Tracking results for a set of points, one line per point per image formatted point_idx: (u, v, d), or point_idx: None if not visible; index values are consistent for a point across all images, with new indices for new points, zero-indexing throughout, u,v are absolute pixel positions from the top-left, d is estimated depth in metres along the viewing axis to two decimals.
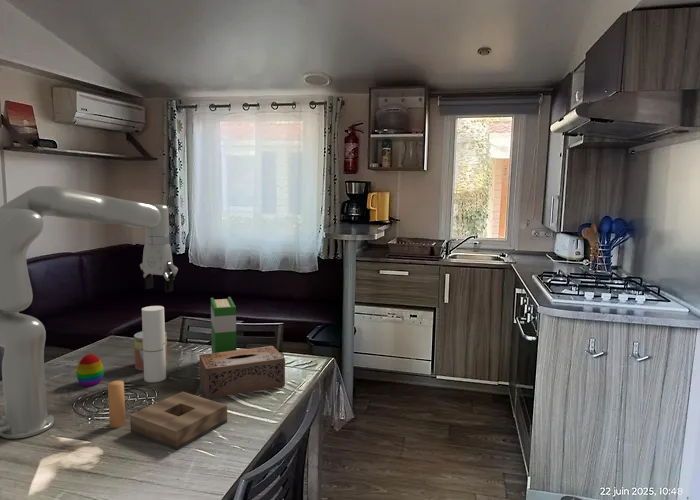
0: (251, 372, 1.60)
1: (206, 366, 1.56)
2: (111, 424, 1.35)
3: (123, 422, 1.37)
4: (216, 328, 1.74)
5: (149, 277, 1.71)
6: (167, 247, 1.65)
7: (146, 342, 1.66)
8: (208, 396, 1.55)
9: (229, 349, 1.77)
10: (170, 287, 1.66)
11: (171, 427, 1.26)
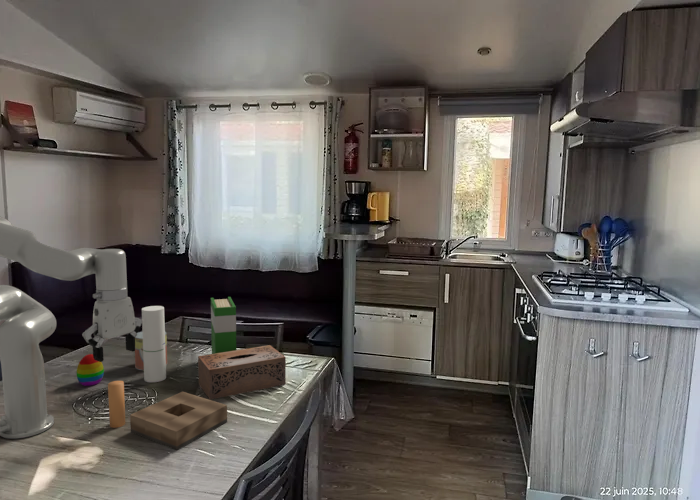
0: (253, 371, 1.61)
1: (208, 367, 1.55)
2: (111, 424, 1.35)
3: (123, 422, 1.37)
4: (216, 328, 1.74)
5: None
6: None
7: (146, 342, 1.66)
8: (211, 397, 1.54)
9: (229, 349, 1.77)
10: None
11: (171, 427, 1.26)
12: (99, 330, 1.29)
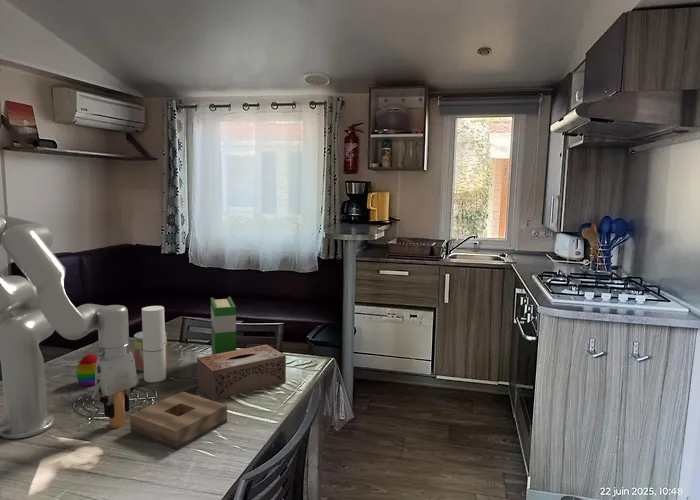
0: (255, 371, 1.61)
1: (211, 368, 1.54)
2: (111, 424, 1.35)
3: (123, 422, 1.37)
4: (216, 328, 1.74)
5: None
6: None
7: (146, 342, 1.66)
8: (214, 398, 1.54)
9: (229, 349, 1.77)
10: None
11: (171, 427, 1.26)
12: (101, 387, 1.31)
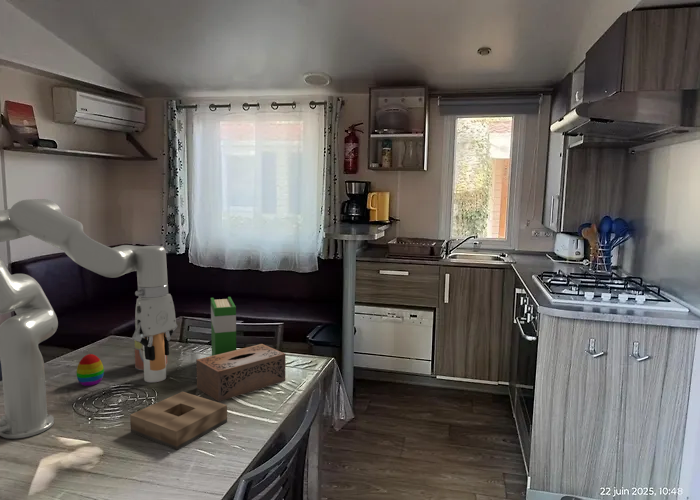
0: (257, 370, 1.62)
1: (215, 369, 1.54)
2: (152, 367, 1.33)
3: (164, 365, 1.34)
4: (216, 328, 1.74)
5: None
6: None
7: None
8: (219, 399, 1.53)
9: (229, 349, 1.77)
10: None
11: (171, 427, 1.26)
12: (142, 327, 1.28)
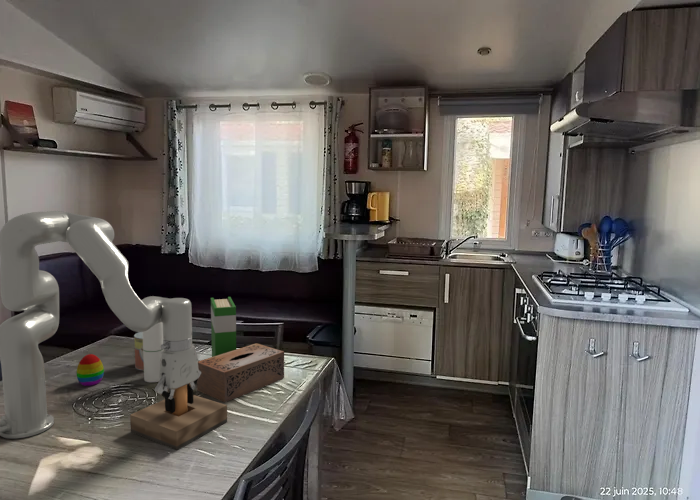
0: (259, 369, 1.63)
1: (221, 370, 1.53)
2: None
3: None
4: (216, 328, 1.74)
5: None
6: None
7: (146, 342, 1.66)
8: (226, 400, 1.53)
9: (229, 349, 1.77)
10: None
11: (171, 427, 1.26)
12: (167, 381, 1.29)
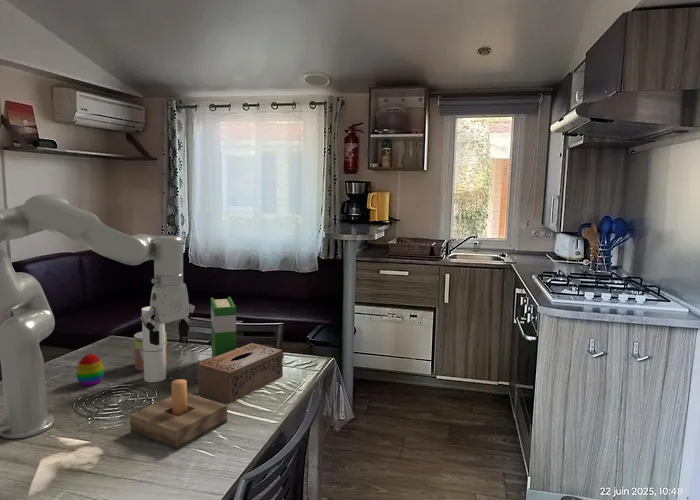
0: (261, 368, 1.64)
1: (225, 370, 1.53)
2: None
3: None
4: (216, 328, 1.74)
5: None
6: None
7: (146, 342, 1.66)
8: (231, 400, 1.53)
9: (229, 349, 1.77)
10: None
11: (171, 427, 1.26)
12: (156, 314, 1.32)
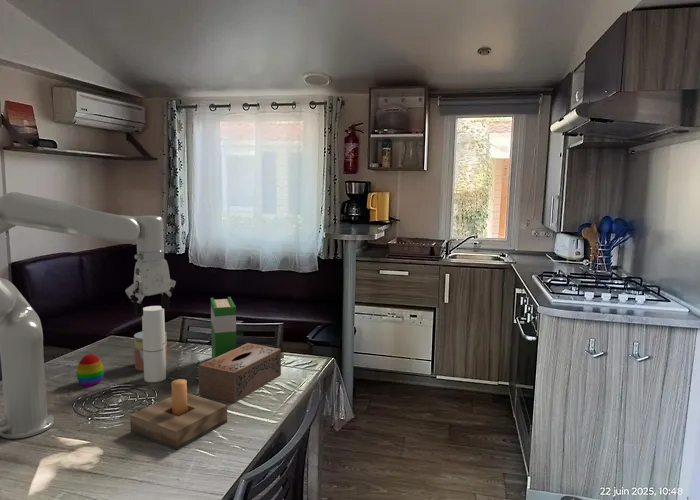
0: (261, 367, 1.65)
1: (229, 371, 1.52)
2: None
3: None
4: (216, 328, 1.74)
5: None
6: None
7: (146, 342, 1.66)
8: (235, 400, 1.53)
9: (229, 349, 1.77)
10: None
11: (171, 427, 1.26)
12: (140, 287, 1.44)
